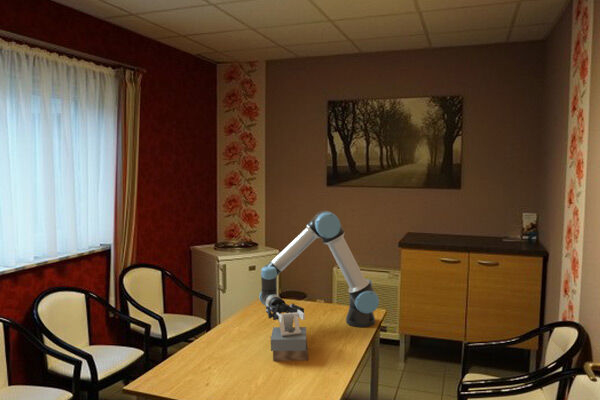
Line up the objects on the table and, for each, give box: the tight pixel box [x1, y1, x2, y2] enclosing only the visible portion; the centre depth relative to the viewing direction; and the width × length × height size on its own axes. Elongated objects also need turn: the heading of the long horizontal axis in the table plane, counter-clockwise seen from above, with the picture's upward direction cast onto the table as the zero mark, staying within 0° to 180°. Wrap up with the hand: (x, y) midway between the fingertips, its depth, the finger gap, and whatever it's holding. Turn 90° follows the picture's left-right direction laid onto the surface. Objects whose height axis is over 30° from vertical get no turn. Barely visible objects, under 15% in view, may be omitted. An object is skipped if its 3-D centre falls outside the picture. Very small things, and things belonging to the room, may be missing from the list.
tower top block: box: [270, 326, 307, 352], centre depth 215 cm, size 15×15×5 cm
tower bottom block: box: [272, 339, 309, 362], centre depth 216 cm, size 15×15×5 cm
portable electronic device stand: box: [279, 312, 301, 337], centre depth 215 cm, size 9×8×8 cm
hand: (293, 318), depth 210 cm, fingers open, 9 cm apart
